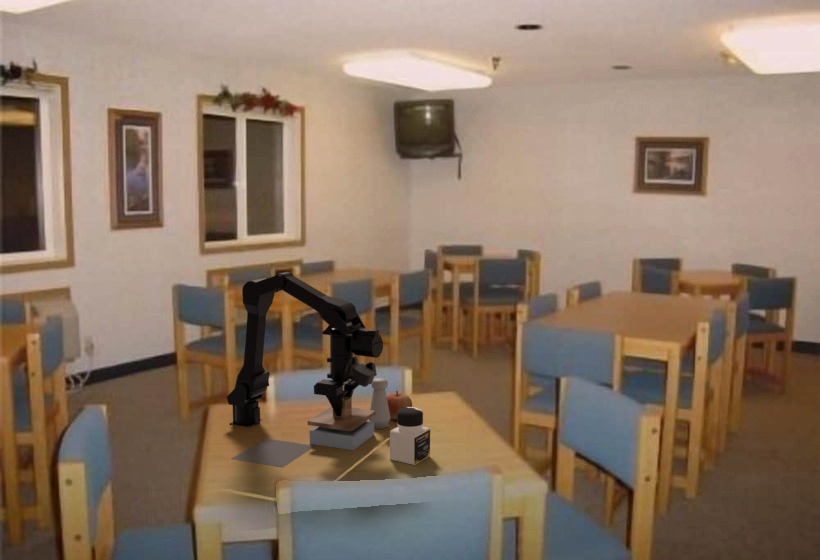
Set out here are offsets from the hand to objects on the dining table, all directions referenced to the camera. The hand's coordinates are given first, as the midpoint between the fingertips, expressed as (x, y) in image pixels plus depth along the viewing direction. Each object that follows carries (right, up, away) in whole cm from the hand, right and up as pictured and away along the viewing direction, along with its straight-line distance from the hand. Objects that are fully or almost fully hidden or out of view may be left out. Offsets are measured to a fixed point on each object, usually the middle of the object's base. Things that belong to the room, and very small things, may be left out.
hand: (341, 413), depth 193 cm
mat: (-16, -8, -8) cm, 20 cm away
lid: (0, -2, 0) cm, 2 cm away
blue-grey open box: (0, -7, +1) cm, 7 cm away
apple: (+14, -5, +19) cm, 24 cm away
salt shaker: (+9, -6, +12) cm, 16 cm away
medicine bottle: (+17, -9, -10) cm, 22 cm away
